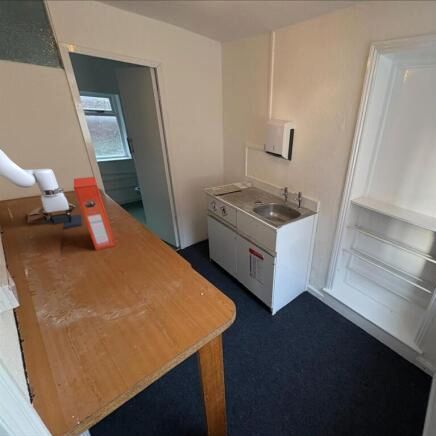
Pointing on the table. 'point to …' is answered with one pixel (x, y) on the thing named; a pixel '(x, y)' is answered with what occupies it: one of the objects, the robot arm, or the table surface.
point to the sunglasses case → (36, 216)
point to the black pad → (60, 218)
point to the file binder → (94, 212)
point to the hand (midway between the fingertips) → (62, 221)
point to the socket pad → (72, 223)
